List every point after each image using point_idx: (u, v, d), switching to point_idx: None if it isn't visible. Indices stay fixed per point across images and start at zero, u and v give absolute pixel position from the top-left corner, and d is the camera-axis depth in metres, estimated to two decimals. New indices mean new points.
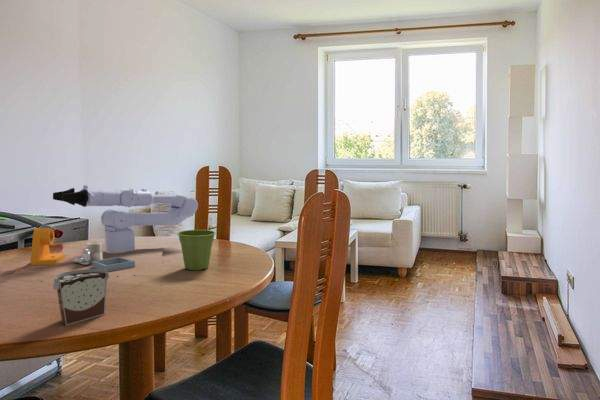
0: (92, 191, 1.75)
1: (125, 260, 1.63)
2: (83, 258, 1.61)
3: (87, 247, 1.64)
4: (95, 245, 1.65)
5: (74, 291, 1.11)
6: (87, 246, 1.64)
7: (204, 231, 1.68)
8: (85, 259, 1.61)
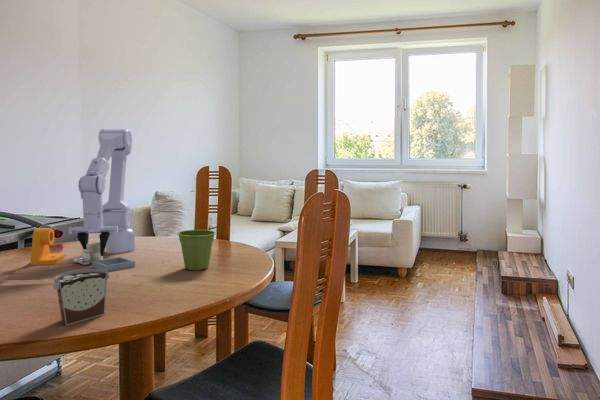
0: (98, 224, 1.64)
1: (125, 260, 1.63)
2: (83, 258, 1.61)
3: (87, 247, 1.64)
4: (95, 245, 1.65)
5: (74, 291, 1.11)
6: (87, 246, 1.64)
7: (204, 231, 1.68)
8: (85, 259, 1.61)
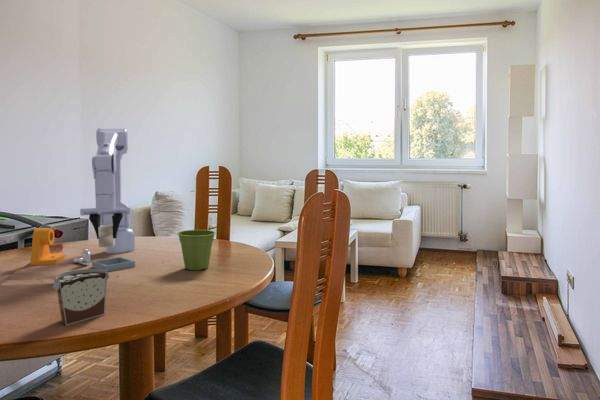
0: (110, 204, 1.58)
1: (125, 260, 1.63)
2: (83, 258, 1.61)
3: (99, 230, 1.58)
4: (107, 228, 1.59)
5: (74, 291, 1.11)
6: (99, 229, 1.58)
7: (204, 231, 1.68)
8: (85, 259, 1.61)
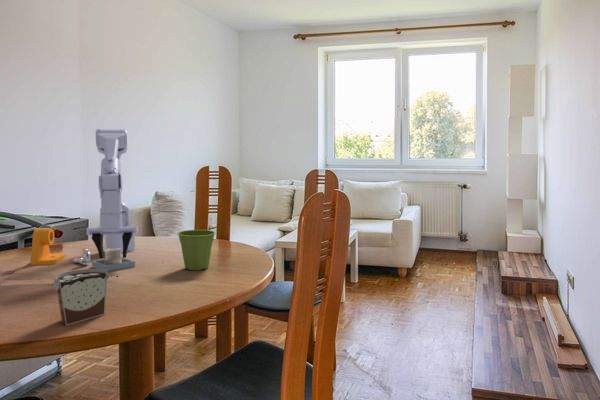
0: (117, 224, 1.57)
1: (125, 260, 1.63)
2: (83, 258, 1.61)
3: (106, 253, 1.57)
4: (114, 251, 1.57)
5: (74, 291, 1.11)
6: (106, 252, 1.57)
7: (204, 231, 1.68)
8: (85, 259, 1.61)
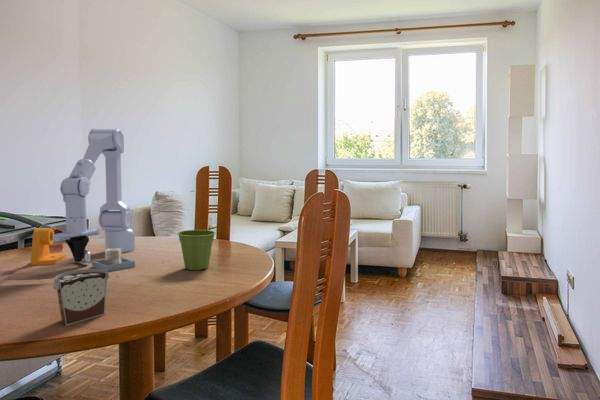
0: (86, 227, 1.59)
1: (125, 260, 1.63)
2: (83, 258, 1.61)
3: (106, 253, 1.57)
4: (114, 251, 1.57)
5: (74, 291, 1.11)
6: (106, 252, 1.57)
7: (204, 231, 1.68)
8: (85, 259, 1.61)
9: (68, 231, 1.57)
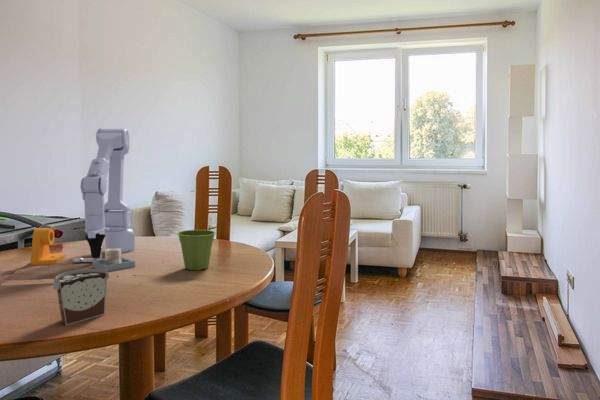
0: None
1: (125, 260, 1.63)
2: None
3: (106, 253, 1.57)
4: (114, 251, 1.57)
5: (74, 291, 1.11)
6: (106, 252, 1.57)
7: (204, 231, 1.68)
8: (100, 255, 1.66)
9: (94, 228, 1.61)
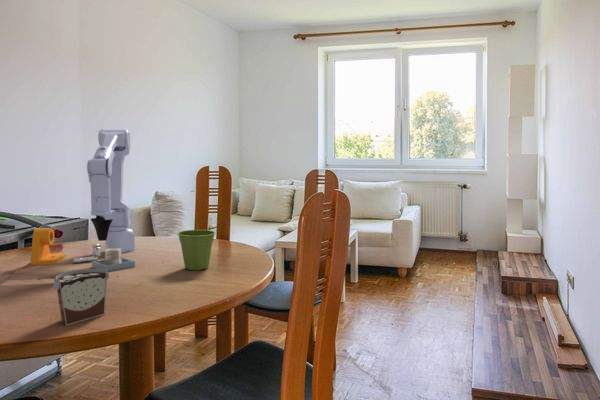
0: None
1: (125, 260, 1.63)
2: (99, 252, 1.70)
3: (106, 253, 1.57)
4: (114, 251, 1.57)
5: (74, 291, 1.11)
6: (106, 252, 1.57)
7: (204, 231, 1.68)
8: (100, 253, 1.70)
9: (104, 210, 1.61)
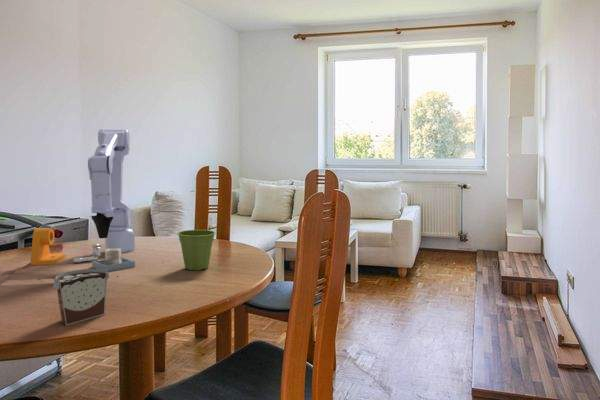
0: None
1: (125, 260, 1.63)
2: (99, 252, 1.70)
3: (106, 253, 1.57)
4: (114, 251, 1.57)
5: (74, 291, 1.11)
6: (106, 252, 1.57)
7: (204, 231, 1.68)
8: (100, 253, 1.70)
9: (105, 208, 1.61)
